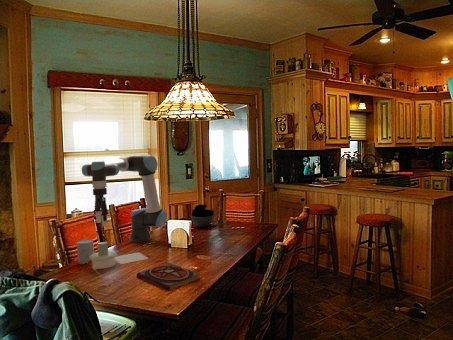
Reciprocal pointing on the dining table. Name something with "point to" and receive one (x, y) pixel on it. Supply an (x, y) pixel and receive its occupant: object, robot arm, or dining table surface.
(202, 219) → the bowl of black rocks
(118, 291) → the dining table surface
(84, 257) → the grey cylindrical piece
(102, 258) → the sage lid
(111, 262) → the ceramic bowl
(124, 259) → the grey mat
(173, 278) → the book
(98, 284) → the dining table surface
